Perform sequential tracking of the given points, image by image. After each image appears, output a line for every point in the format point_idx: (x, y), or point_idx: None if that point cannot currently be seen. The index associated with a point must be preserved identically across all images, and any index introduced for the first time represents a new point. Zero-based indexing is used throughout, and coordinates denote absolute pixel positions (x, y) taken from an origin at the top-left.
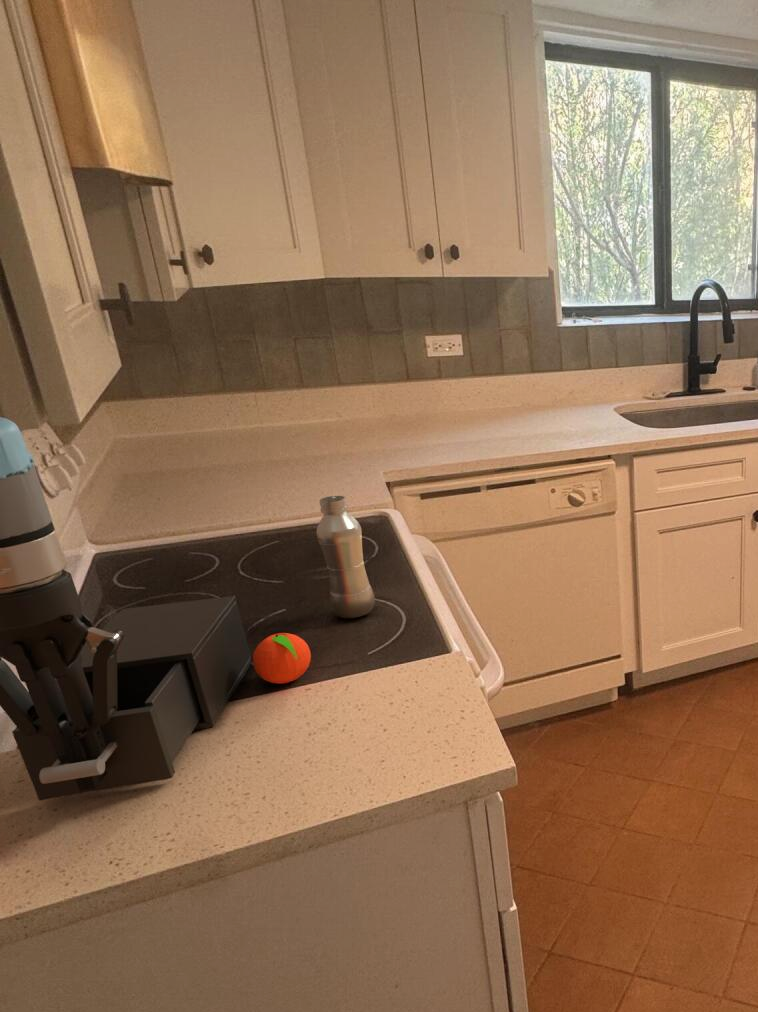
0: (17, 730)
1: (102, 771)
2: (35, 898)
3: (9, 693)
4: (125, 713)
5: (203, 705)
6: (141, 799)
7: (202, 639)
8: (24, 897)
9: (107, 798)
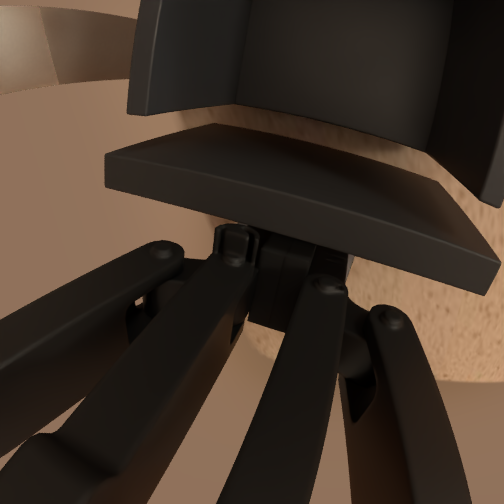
0: (114, 187)
1: None
2: (270, 355)
3: (61, 410)
4: (422, 265)
5: None
6: None
7: None
8: (258, 347)
9: None
